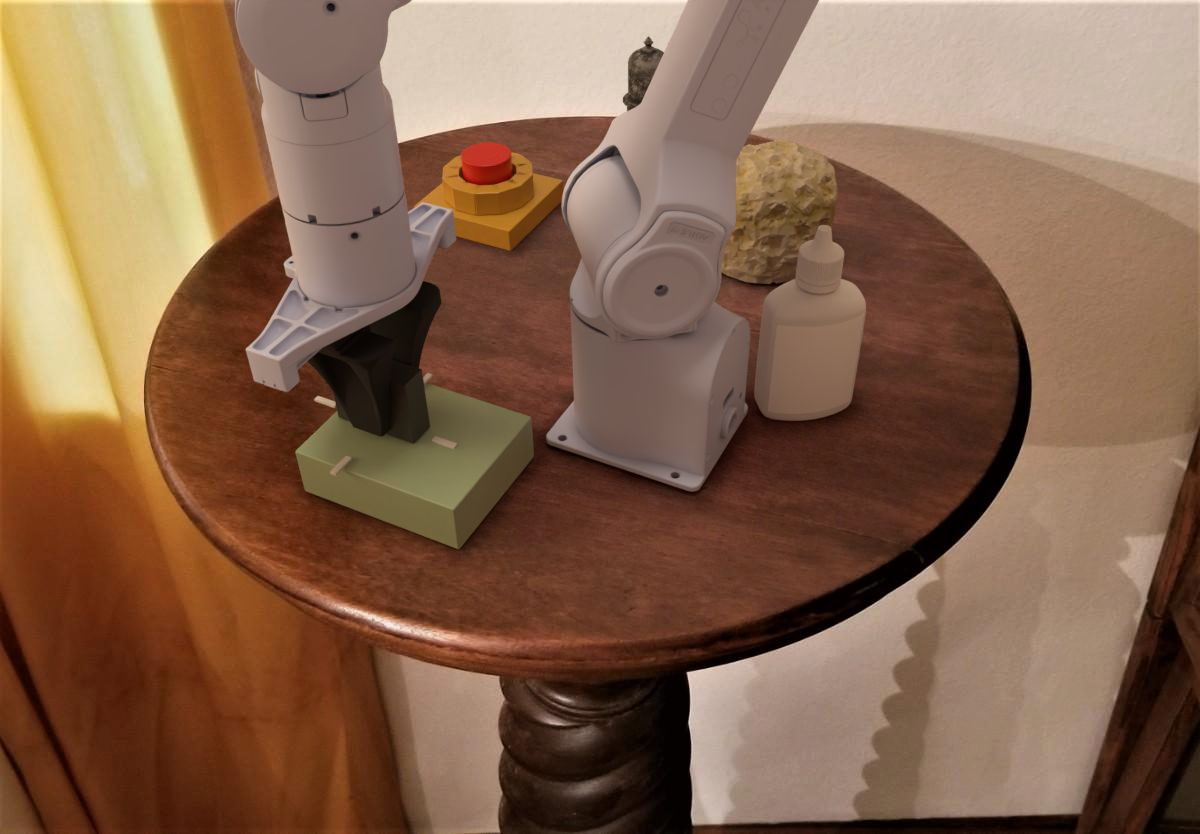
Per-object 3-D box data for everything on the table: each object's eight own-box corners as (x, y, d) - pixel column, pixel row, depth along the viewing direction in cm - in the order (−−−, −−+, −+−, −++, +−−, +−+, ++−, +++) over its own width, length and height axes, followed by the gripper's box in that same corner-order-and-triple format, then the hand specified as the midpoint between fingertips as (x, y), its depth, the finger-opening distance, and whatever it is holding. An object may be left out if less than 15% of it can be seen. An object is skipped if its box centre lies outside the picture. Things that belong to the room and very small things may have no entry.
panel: (539, 450, 65) (537, 407, 63) (453, 558, 59) (446, 515, 57) (372, 394, 69) (364, 352, 67) (274, 489, 63) (262, 446, 61)
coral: (711, 292, 77) (717, 191, 72) (687, 221, 84) (690, 125, 79) (845, 281, 78) (861, 181, 73) (810, 212, 85) (821, 116, 80)
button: (521, 170, 84) (520, 148, 83) (496, 192, 81) (495, 170, 80) (479, 159, 85) (477, 138, 84) (453, 181, 83) (451, 159, 82)
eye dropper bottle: (842, 436, 66) (872, 258, 58) (747, 416, 67) (763, 241, 59) (855, 390, 69) (884, 215, 61) (763, 372, 70) (780, 200, 63)
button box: (564, 199, 87) (562, 157, 84) (510, 251, 81) (507, 208, 79) (473, 177, 89) (469, 136, 87) (416, 226, 84) (410, 183, 82)
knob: (430, 426, 62) (421, 365, 60) (414, 444, 61) (404, 382, 58) (355, 401, 64) (343, 340, 61) (338, 417, 63) (324, 356, 60)
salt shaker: (603, 173, 90) (601, 22, 82) (678, 168, 90) (683, 18, 82) (612, 212, 85) (611, 56, 77) (691, 206, 86) (697, 51, 78)
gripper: (364, 114, 60) (397, 325, 69) (168, 250, 50) (237, 476, 59) (480, 141, 57) (499, 357, 66) (298, 289, 48) (349, 519, 56)
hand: (383, 415), depth 62 cm, fingers closed on knob, 2 cm apart
